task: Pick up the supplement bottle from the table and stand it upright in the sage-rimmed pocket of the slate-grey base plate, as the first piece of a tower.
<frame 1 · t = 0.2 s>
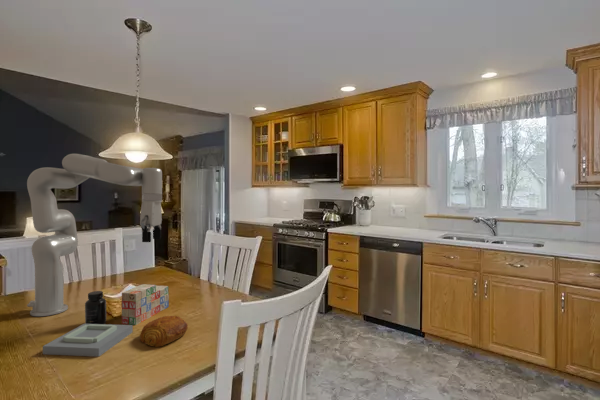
hand: (151, 240, 135), 31 cm above the table, tool pointing down, fingers open, 9 cm apart
stack of blocks: (146, 315, 136), on the table
croissant: (163, 338, 115), on the table
supplement bottle: (95, 324, 126), on the table
base plate: (91, 342, 110), on the table
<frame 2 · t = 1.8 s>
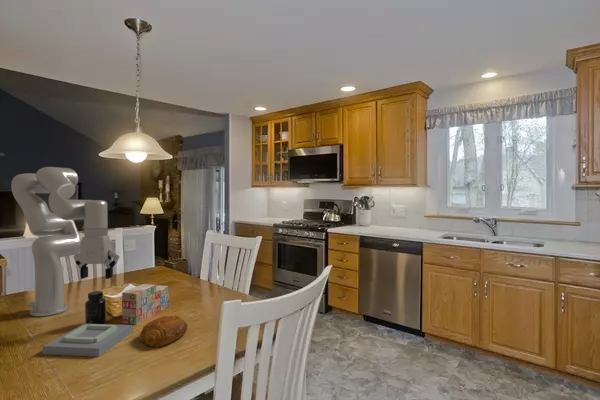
hand: (96, 278, 125), 18 cm above the table, tool pointing down, fingers open, 9 cm apart
nothing on the table moved.
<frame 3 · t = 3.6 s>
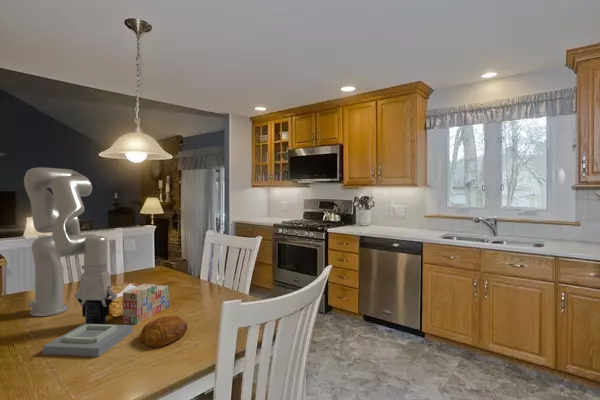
hand: (95, 315, 125), 3 cm above the table, tool pointing down, fingers closed on supplement bottle, 6 cm apart
supplement bottle: (95, 324, 126), on the table, touching gripper
everything else where it was.
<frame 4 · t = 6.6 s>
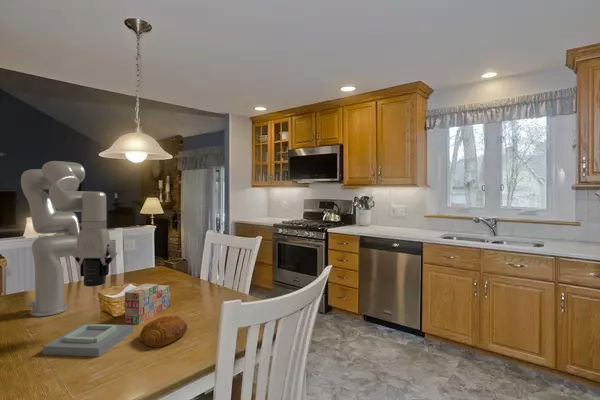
hand: (94, 275, 119), 20 cm above the table, tool pointing down, fingers closed on supplement bottle, 6 cm apart
supplement bottle: (94, 284, 119), point 17 cm above the table, touching gripper
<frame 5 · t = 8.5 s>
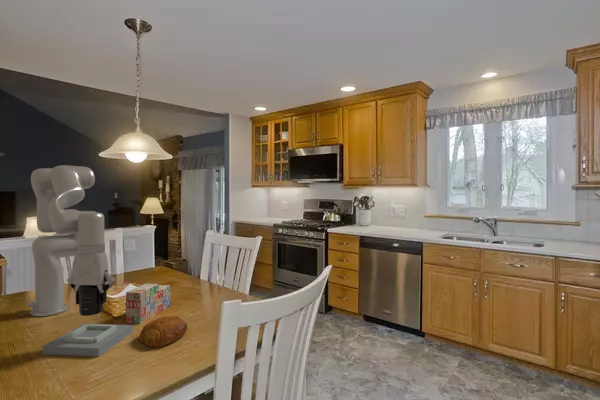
hand: (91, 302, 110), 13 cm above the table, tool pointing down, fingers closed on supplement bottle, 6 cm apart
supplement bottle: (91, 313, 110), point 10 cm above the table, touching gripper
when the fingers open (8 cm above the table, at t = 10.0 s): supplement bottle drops 2 cm, resting on base plate.
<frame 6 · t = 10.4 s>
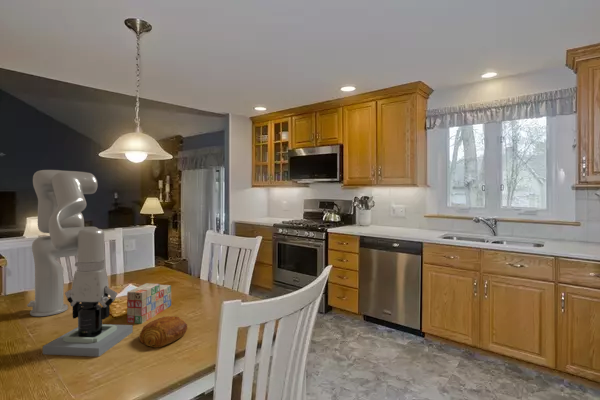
hand: (91, 317, 110), 8 cm above the table, tool pointing down, fingers open, 9 cm apart
supplement bottle: (90, 335, 110), point 2 cm above the table, touching base plate
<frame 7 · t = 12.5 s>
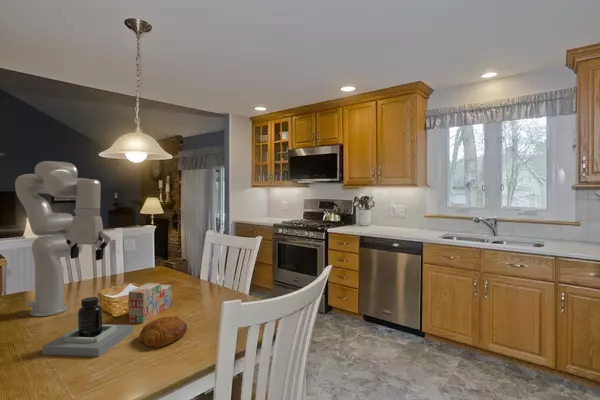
hand: (86, 258, 122), 25 cm above the table, tool pointing down, fingers open, 9 cm apart
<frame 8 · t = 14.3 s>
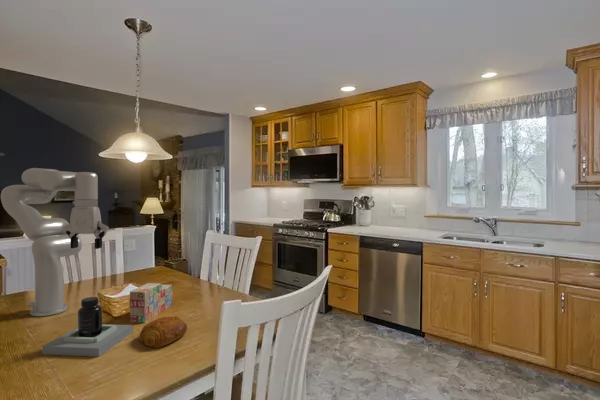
hand: (86, 248, 129), 28 cm above the table, tool pointing down, fingers open, 9 cm apart
at the end: supplement bottle 0.4 cm off-centre on the base plate, point 2.3 cm above the base plate's base; supplement bottle tilted 0°; the gripper is holding nothing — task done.
